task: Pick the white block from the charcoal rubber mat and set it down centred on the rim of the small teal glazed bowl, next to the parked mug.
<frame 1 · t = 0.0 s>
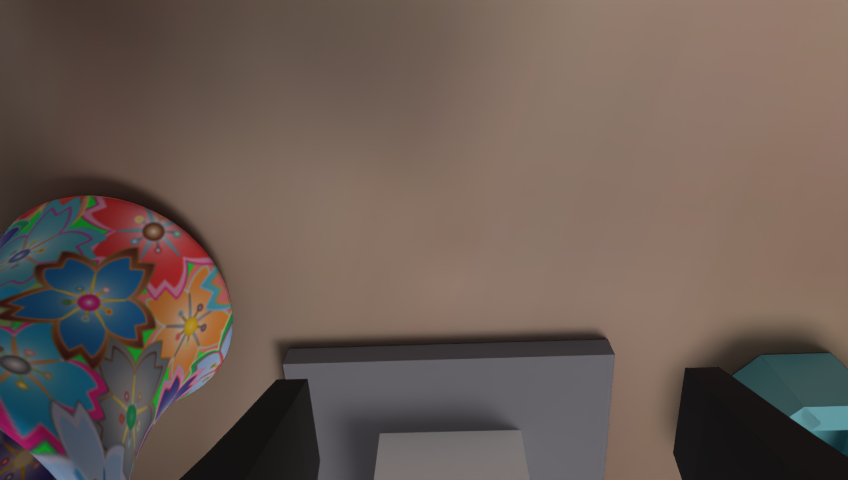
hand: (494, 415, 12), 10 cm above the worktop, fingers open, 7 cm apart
mug: (91, 282, 23), on the worktop
bowl: (780, 420, 24), on the worktop
mat: (451, 466, 26), on the worktop
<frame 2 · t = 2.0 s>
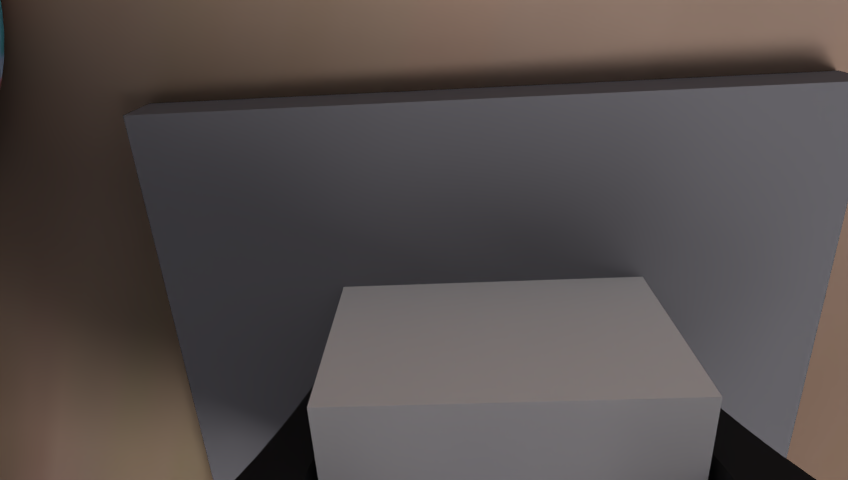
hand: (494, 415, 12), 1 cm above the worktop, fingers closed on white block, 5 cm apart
white block: (492, 402, 12), point 1 cm above the worktop, touching gripper, mat
mat: (488, 372, 13), on the worktop
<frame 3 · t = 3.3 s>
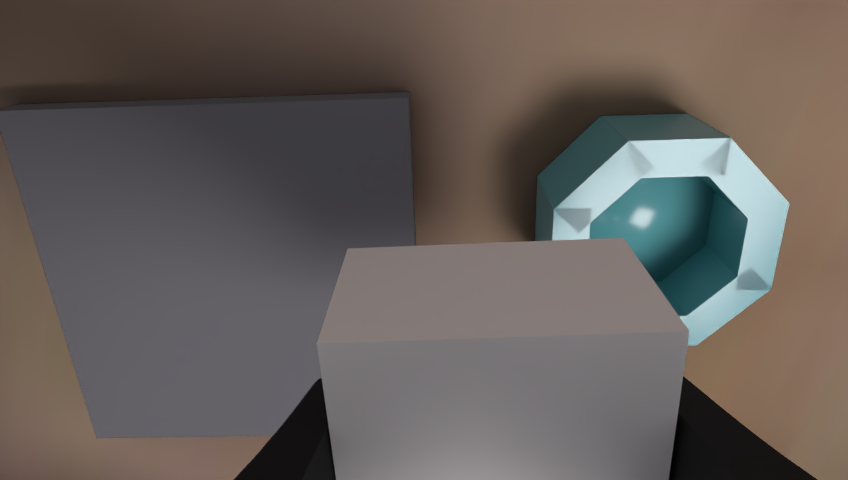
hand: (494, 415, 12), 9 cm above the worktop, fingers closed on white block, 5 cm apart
white block: (486, 358, 13), point 7 cm above the worktop, touching gripper
bowl: (633, 211, 20), on the worktop
mat: (241, 276, 21), on the worktop
when the fingers open (4 cm above the worktop, at t = 5.0 s): white block stays where it is, resting on bowl.
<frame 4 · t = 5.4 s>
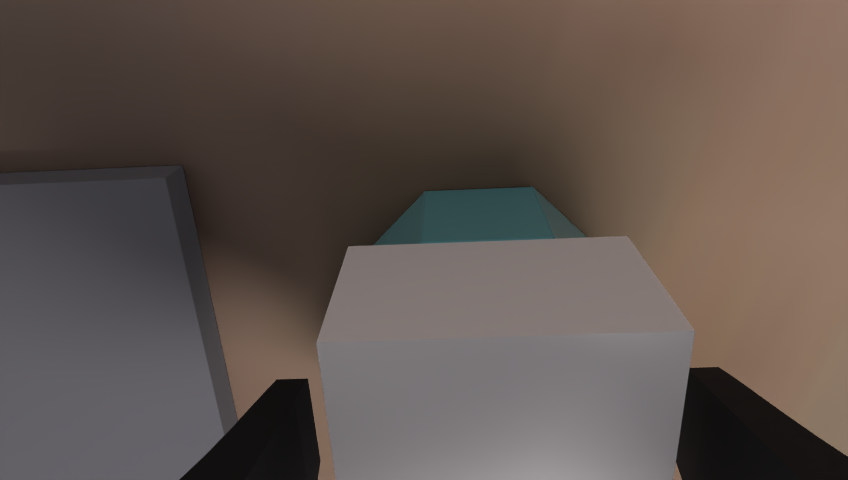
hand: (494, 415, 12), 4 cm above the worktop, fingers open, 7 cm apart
white block: (487, 357, 13), point 3 cm above the worktop, touching bowl
bowl: (480, 302, 16), on the worktop
mat: (16, 380, 17), on the worktop
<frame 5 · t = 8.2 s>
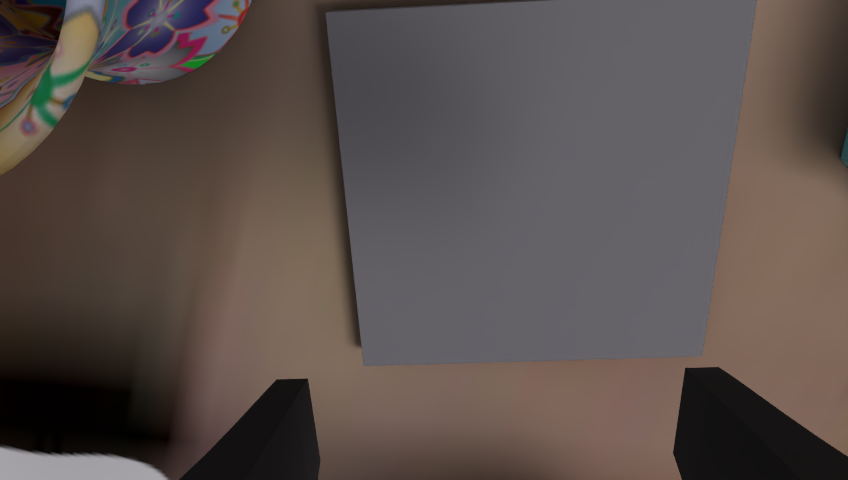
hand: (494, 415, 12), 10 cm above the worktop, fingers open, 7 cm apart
mat: (530, 192, 20), on the worktop
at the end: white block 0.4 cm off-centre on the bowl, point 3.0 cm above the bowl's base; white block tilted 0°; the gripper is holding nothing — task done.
